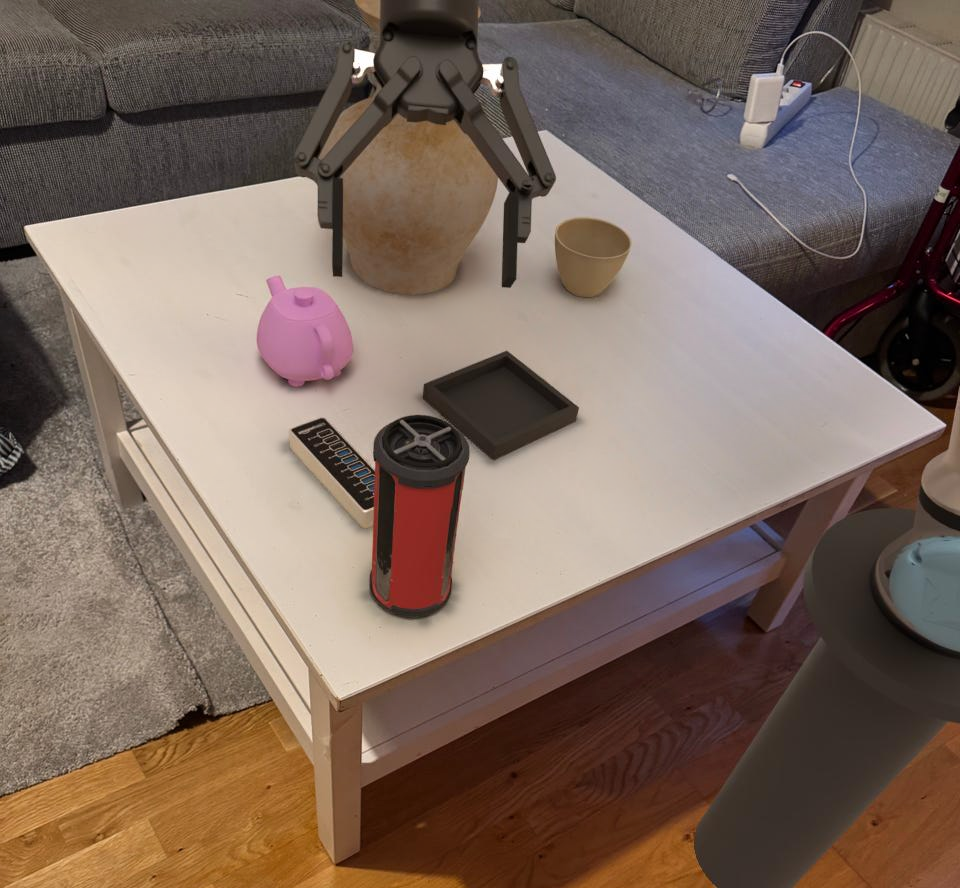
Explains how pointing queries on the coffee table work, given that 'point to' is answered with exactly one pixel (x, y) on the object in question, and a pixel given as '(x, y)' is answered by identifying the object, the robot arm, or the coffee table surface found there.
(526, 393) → the dock pad
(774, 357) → the coffee table surface
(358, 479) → the multiport hub
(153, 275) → the coffee table surface
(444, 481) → the speaker
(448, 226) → the vase
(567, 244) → the flower pot
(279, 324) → the teapot
